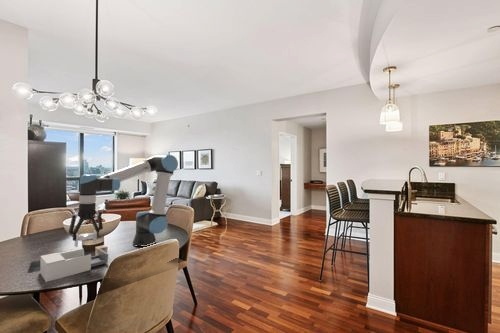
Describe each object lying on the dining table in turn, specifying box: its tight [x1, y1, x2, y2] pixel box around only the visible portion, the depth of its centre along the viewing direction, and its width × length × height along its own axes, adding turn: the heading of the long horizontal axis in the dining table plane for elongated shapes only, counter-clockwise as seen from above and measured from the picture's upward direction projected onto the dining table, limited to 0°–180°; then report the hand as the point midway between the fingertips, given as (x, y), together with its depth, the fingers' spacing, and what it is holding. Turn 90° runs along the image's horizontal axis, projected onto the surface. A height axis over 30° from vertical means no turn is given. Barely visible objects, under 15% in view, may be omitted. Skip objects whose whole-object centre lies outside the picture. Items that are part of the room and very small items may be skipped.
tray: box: [91, 249, 109, 268], centre depth 126 cm, size 17×11×5 cm
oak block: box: [94, 244, 108, 256], centre depth 143 cm, size 5×5×5 cm
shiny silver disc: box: [78, 232, 95, 242], centre depth 126 cm, size 8×8×2 cm
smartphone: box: [27, 260, 41, 274], centre depth 125 cm, size 8×1×15 cm
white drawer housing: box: [39, 248, 92, 283], centre depth 119 cm, size 18×14×9 cm
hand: (85, 244), depth 126 cm, fingers closed on shiny silver disc, 8 cm apart
